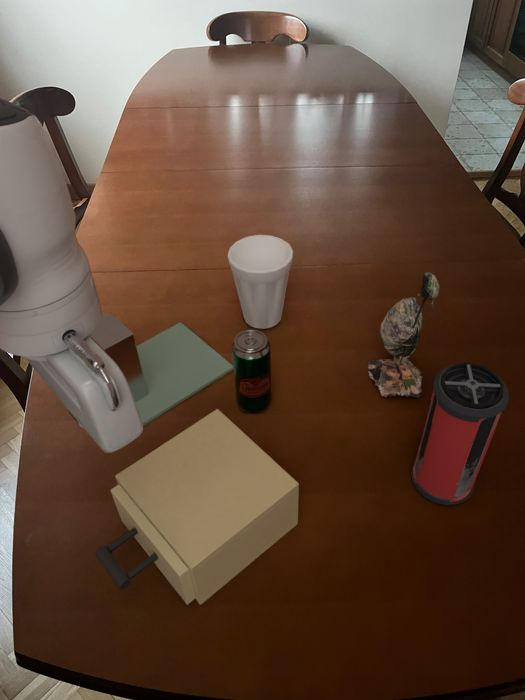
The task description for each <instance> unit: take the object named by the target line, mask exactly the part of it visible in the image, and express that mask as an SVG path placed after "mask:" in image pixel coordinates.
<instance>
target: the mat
mask: <svg viewBox="0 0 525 700" xmlns="http://www.w3.org/2000/svg"><path fill="white" fill-rule="evenodd" d="M136 347H137V351H138V355H139V359H140V364H141V368H142V372H143V376H144V380H145V384H146V388H147V392H148V395H147V396H145V397H143V398H142V399H140V400H138V401H137V402H135V403H136V406H137V408H138V411H139V414H140V417H141V421H142V424H143V427H144V426H146V425H148V424H149V423H150V422H152V421H154V420H155V419H157V418H159V417H160V416H162V415H163V414H165V413H167V412H168V411H170V410H171V409H173V408H174V407H176V406H178V405H179V404H181V403H182V402H184V401H186V400H188V399H189V398H190V397H192V396H194V395H195V394H197V393H199V392H200V391H202V390H203V389H205V388H206V387H208V386H210V385H211V384H213V383H215V382H216V381H218V380H219V379H221V378H222V377H224V376H226V375H227V374H229V373H231V372H232V371H234V367H233V364H232V363H230V362H229V361H228V360H227V359H225V358H224V356H222V355H221V354H220V353H218V352H217V351H216V350H215V349H214V348H212V347H211V346H210V345H209V344H208V343H207V342H205V341H204V340H203V339H202V338H201V337H199V336H198V335H197V334H195V333H194V332H193V331H192V330H191V329H189V327H187V326H186V325H185V324H184V323H182V322H180V321H179V322H178V323H175V324H174V325H172V326H171V327H168V328H167V329H165V330H163V331H162V332H160V333H158V334H156V335H154V336H152V337H150V338H149V339H147V340H145V341H143V342H141V343H140V344H138V345H136Z"/></svg>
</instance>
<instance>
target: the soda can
mask: <svg viewBox="0 0 525 700" xmlns="http://www.w3.org/2000/svg"><path fill="white" fill-rule="evenodd" d="M231 352H232V353H231V356H232V365H233V367H234V369H233V379H234V388H235V399H236V400H235V401H236V405H237V406H238V407H239V409H240V410H242V411H245V412H247V413H252V414H254V413H260V412H263V411H265V410H266V409H268V407H269V406H270V405H271V403H272V400H273V399H272V398H273V396H272V394H273V393H272V359H271V358H272V357H271V356H272V355H271V354H272V353H271V343H270V341H269V340H268V337H267V336H266V334H265V333H264V332H262V331H259V330H256V329H247V330H242V331H240V332H239V333H238V334H237V335H235V338H234V340H233V342H232V345H231Z"/></svg>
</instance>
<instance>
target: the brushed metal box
mask: <svg viewBox="0 0 525 700" xmlns="http://www.w3.org/2000/svg"><path fill="white" fill-rule="evenodd" d="M90 337H91V338H92V339H93V340H94V341H95V342H96V343H97V345H98V346H99V347H100V348H101V349H102V350H103V351H104V352H105V353H106V354H107V355H108V356H109V357H110V358H111V359H112V360H113V361H114V362H115V363H116V364H117V365H118V367H119V368H120V370H121V371H122V373H123V374H124V376H125V378H126V380H127V382H128V384H129V387H130V389H131V392H132V394H133V397H134V400H135V402H137V401H138V400H140V399H142V398H143V397H145V396H147V395H148V392H147V388H146V384H145V380H144V376H143V372H142V368H141V364H140V359H139V355H138V351H137V347H136V346H137V344H136V339H135V335H134V333H133V331H131V330H130V329H129V328H128V327H127V326H125V324H123V323H122V322H121V321H120V320H119V319H118V318H117V317H115V315H114V314H113V313H111V312H108V313H106V314H104V315H101V318H100V321H99V323H98V325H97V327H96V328H95V329H94V331H93V332H92V333H91V334H90Z"/></svg>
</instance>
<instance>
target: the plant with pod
mask: <svg viewBox="0 0 525 700" xmlns="http://www.w3.org/2000/svg"><path fill="white" fill-rule="evenodd" d="M420 289H421V291H420V293H417V296H421V298H422V299H421V305H420V304H419V301H418V299H417V298H416V297H412V296H409V297H405V298H402V299H401V300H400V301H397V303H395V304H394V305H393V306H392V307H391V308H390V309H389V310H388V312H386V315H385V316H384V318H383V321H382V322H381V324H380V331H379V332H380V338H381V340H382V344H383V348H384V349H385V350H386V351H387V352H388V354H389V355H391V356H393V358H388V359H386V358H384V359H375V358H374V359H372V360H369V361H368V362H367V368H368V371H367V373H368V376H369V378H370V379H371V380H372V381H373V382H375V383H374V385H375V386H377V387H378V390H379V392H380V396H382V397H385V398H388V397H389V398H391V397H397V395H398V396H399V397H400V396H402V397H403V396H405V398H408V397H413V398H417V399H419V398H420V397H421V396H423V390H422V380H423V379H422V378H423V376H422V372H421V371H420V369H419V367H417V366H414V364H413V362H412V361H410V359H409V358H410V356H412V355H413V354H414V353H416V350H417V349H418V344H419V341H420V339H421V335H422V331H423V325H424V322H423V312H422V310H423V308H424V306H425V303H426V302H427V300H429V302H430V307H431V309H432V310H434V309H435V306H434V301H435V299H437V297H438V296H439V292H440V283H439V281H438V279H437V277H436V275H434V273H432V272H427V271H425V272H423V274H422V280H421V287H420Z"/></svg>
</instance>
